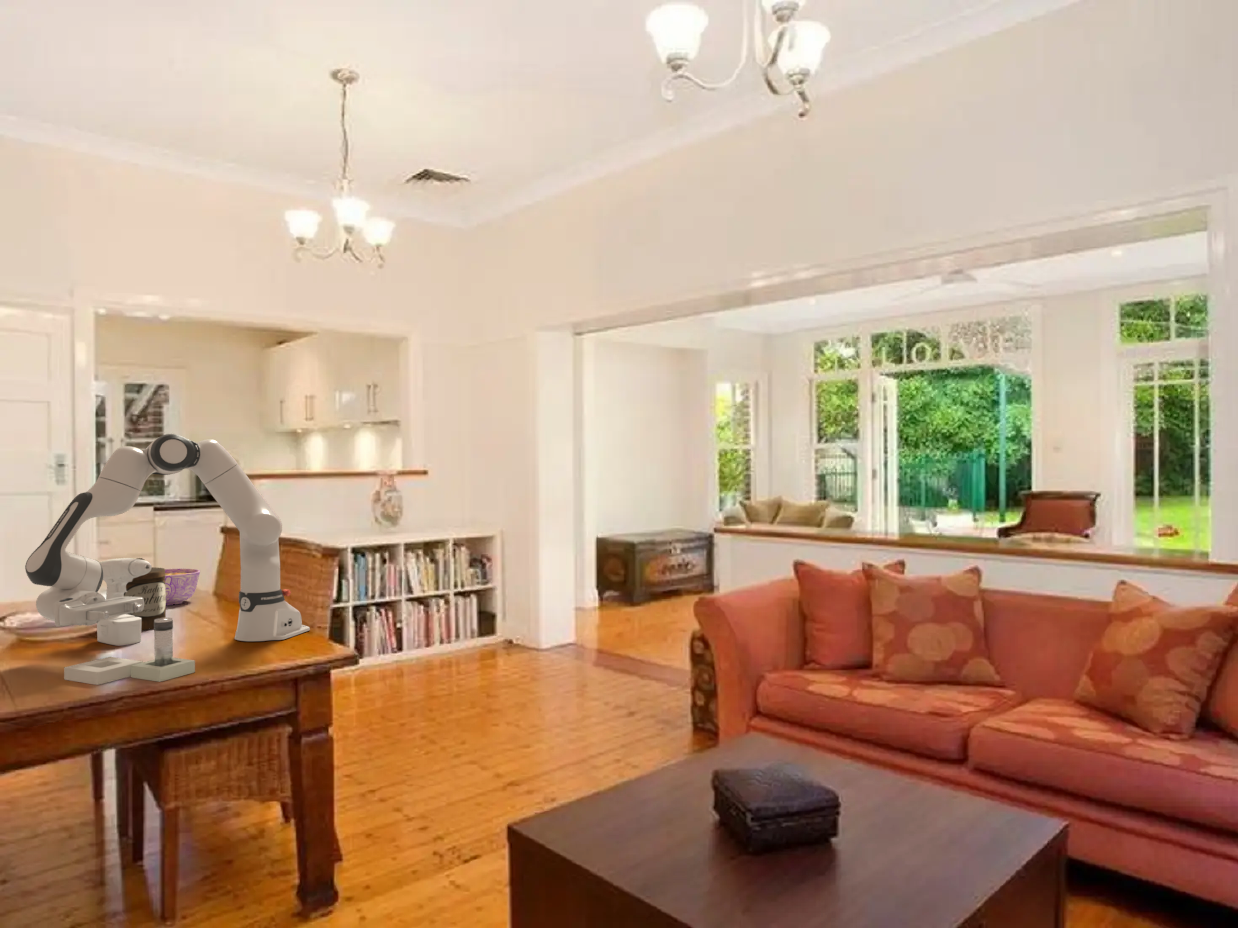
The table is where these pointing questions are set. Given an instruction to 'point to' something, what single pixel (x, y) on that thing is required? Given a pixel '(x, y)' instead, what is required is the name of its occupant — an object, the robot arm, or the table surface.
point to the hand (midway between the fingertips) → (123, 612)
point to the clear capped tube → (163, 641)
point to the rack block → (162, 670)
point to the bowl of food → (180, 584)
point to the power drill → (116, 578)
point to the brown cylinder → (149, 596)
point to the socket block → (100, 670)
